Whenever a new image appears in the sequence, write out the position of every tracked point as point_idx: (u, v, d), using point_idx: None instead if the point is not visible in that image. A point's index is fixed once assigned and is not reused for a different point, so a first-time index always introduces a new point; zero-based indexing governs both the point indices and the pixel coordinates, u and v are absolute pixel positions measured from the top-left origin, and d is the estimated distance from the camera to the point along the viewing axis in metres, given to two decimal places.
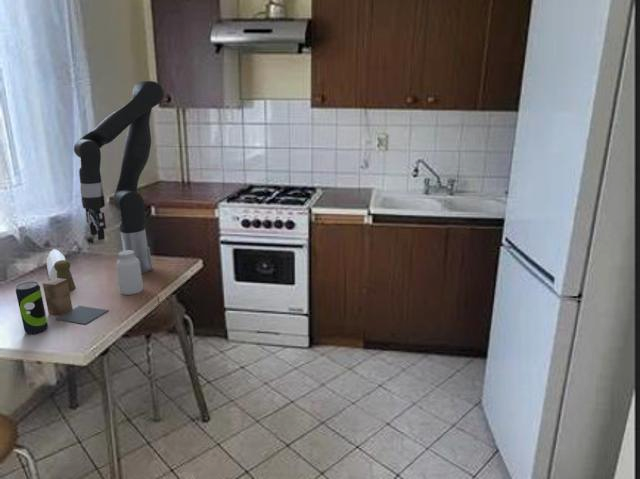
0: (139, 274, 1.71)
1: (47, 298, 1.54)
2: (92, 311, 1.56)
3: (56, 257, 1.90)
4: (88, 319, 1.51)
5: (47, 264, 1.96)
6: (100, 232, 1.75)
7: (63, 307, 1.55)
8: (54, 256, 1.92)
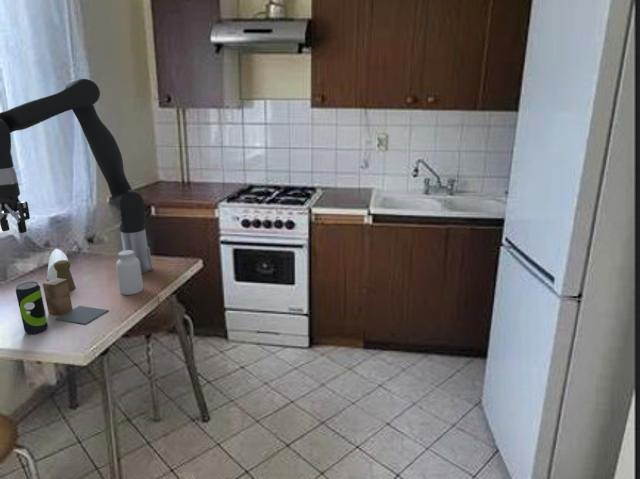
0: (139, 274, 1.71)
1: (47, 298, 1.54)
2: (92, 311, 1.56)
3: (55, 257, 1.90)
4: (88, 319, 1.51)
5: None
6: None
7: (63, 307, 1.55)
8: (54, 256, 1.92)
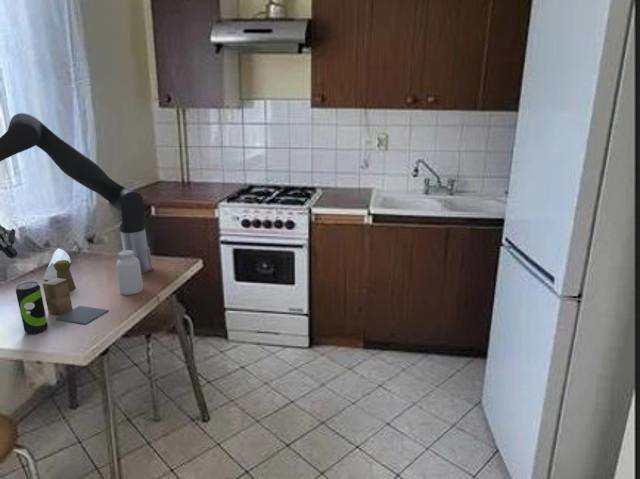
0: (139, 274, 1.71)
1: (47, 298, 1.54)
2: (92, 311, 1.56)
3: (55, 257, 1.90)
4: (88, 319, 1.51)
5: None
6: None
7: (63, 307, 1.55)
8: (54, 256, 1.92)
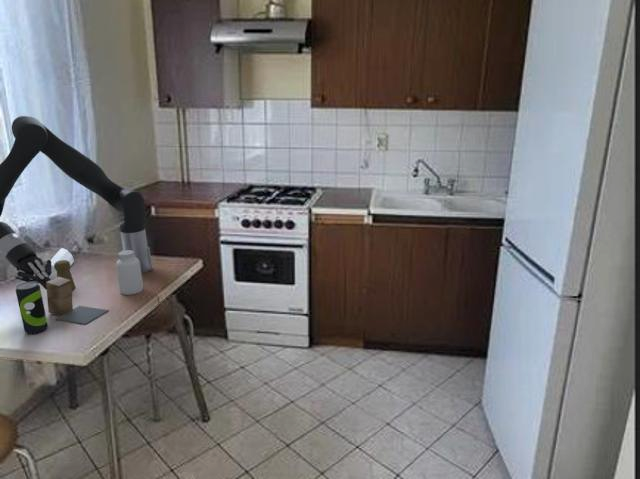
0: (139, 274, 1.71)
1: (49, 297, 1.53)
2: (92, 311, 1.56)
3: (54, 257, 1.89)
4: (88, 319, 1.51)
5: None
6: None
7: (64, 307, 1.55)
8: (54, 256, 1.92)
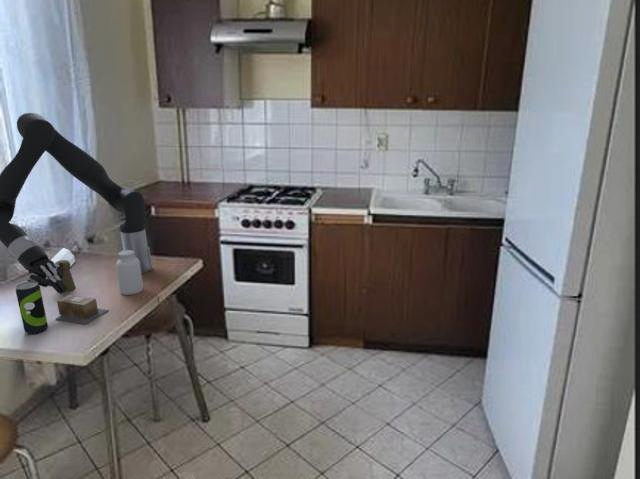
0: (139, 274, 1.71)
1: (71, 305, 1.51)
2: None
3: (53, 257, 1.89)
4: (88, 319, 1.51)
5: None
6: None
7: None
8: (54, 256, 1.92)
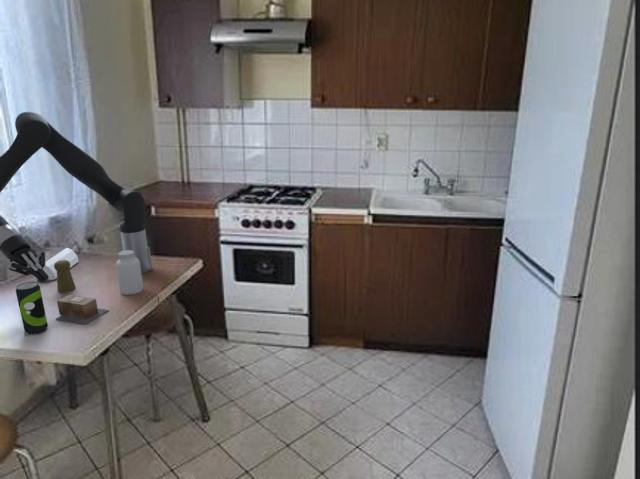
0: (139, 274, 1.71)
1: (71, 305, 1.51)
2: None
3: (52, 257, 1.89)
4: (88, 319, 1.51)
5: None
6: None
7: None
8: (54, 256, 1.92)
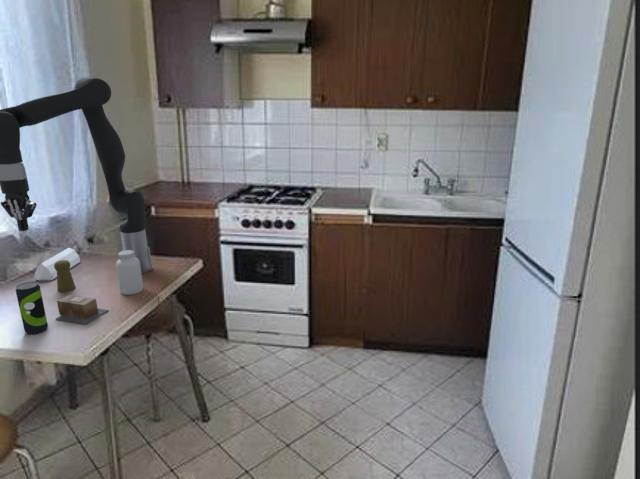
0: (139, 274, 1.71)
1: (71, 305, 1.51)
2: None
3: None
4: (88, 319, 1.51)
5: None
6: None
7: None
8: (54, 256, 1.92)
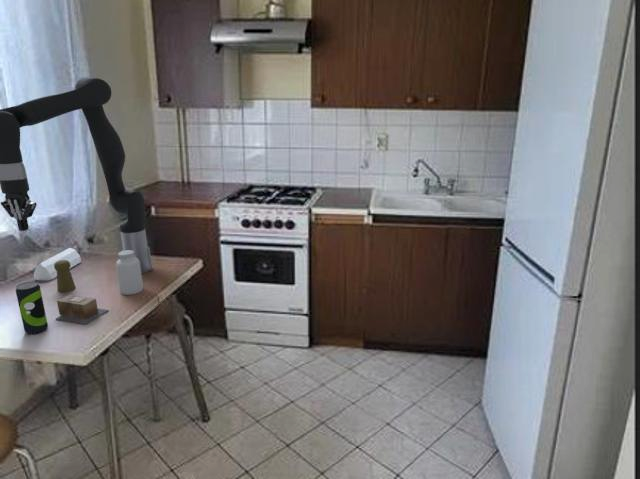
0: (139, 274, 1.71)
1: (71, 305, 1.51)
2: None
3: (51, 257, 1.89)
4: (88, 319, 1.51)
5: None
6: None
7: None
8: (54, 256, 1.92)
